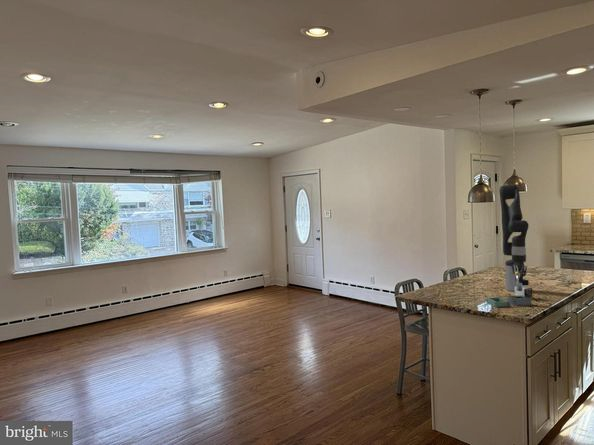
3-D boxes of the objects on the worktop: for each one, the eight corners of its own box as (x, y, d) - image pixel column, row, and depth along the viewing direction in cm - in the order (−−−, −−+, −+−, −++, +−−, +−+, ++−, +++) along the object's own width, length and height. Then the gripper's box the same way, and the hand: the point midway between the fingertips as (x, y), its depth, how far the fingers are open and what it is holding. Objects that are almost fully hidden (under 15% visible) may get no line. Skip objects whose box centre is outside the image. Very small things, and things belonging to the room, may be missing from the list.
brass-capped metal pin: (513, 289, 250) (513, 271, 250) (521, 289, 250) (520, 271, 250) (517, 291, 246) (517, 272, 245) (525, 291, 246) (524, 272, 245)
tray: (486, 302, 254) (486, 297, 254) (499, 302, 254) (499, 297, 254) (495, 307, 242) (495, 302, 242) (509, 307, 242) (509, 302, 242)
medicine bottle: (524, 299, 257) (524, 280, 257) (514, 297, 264) (514, 279, 263) (532, 298, 260) (532, 279, 260) (522, 296, 267) (522, 277, 266)
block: (508, 302, 253) (508, 295, 253) (522, 301, 253) (522, 295, 252) (515, 306, 244) (515, 299, 244) (531, 305, 244) (531, 298, 243)
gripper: (506, 252, 254) (507, 280, 255) (518, 255, 240) (519, 285, 241) (518, 251, 254) (519, 279, 255) (531, 255, 240) (532, 284, 241)
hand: (519, 282), depth 248 cm, fingers closed on brass-capped metal pin, 3 cm apart
